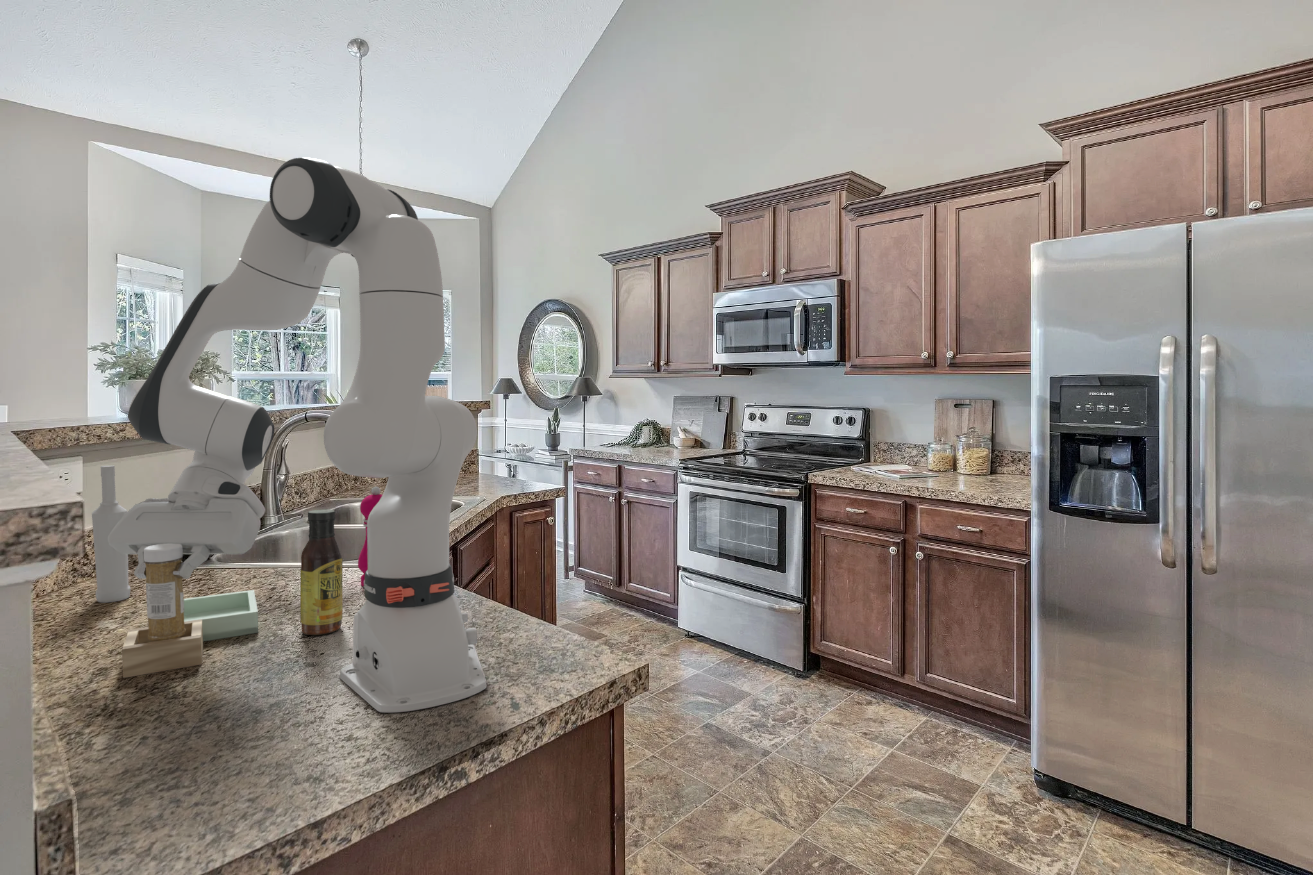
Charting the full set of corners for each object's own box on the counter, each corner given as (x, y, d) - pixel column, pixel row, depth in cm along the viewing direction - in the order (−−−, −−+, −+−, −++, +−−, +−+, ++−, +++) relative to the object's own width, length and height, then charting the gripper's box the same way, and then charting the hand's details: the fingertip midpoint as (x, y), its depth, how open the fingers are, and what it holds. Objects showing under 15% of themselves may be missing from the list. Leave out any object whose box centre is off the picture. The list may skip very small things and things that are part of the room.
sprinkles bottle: (192, 631, 102) (189, 542, 101) (171, 642, 97) (167, 549, 96) (162, 631, 102) (158, 542, 101) (139, 642, 97) (135, 549, 96)
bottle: (137, 594, 131) (132, 464, 129) (117, 602, 125) (111, 467, 124) (109, 594, 130) (104, 464, 129) (88, 602, 125) (81, 467, 123)
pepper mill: (402, 578, 143) (400, 484, 142) (387, 588, 136) (385, 489, 135) (368, 578, 144) (366, 483, 142) (351, 588, 136) (349, 488, 135)
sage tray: (258, 632, 111) (257, 611, 111) (151, 649, 104) (151, 626, 103) (254, 608, 123) (253, 589, 123) (158, 622, 115) (157, 602, 115)
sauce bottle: (325, 638, 109) (323, 515, 107) (291, 635, 110) (288, 513, 109) (352, 625, 115) (349, 508, 114) (319, 622, 117) (316, 507, 115)
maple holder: (201, 664, 98) (201, 637, 98) (123, 677, 93) (121, 649, 93) (203, 644, 106) (202, 619, 106) (130, 655, 101) (129, 629, 101)
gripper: (127, 486, 105) (75, 565, 96) (257, 486, 105) (218, 565, 95) (150, 510, 110) (103, 587, 101) (275, 510, 109) (240, 587, 100)
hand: (160, 576), depth 98 cm, fingers closed on sprinkles bottle, 4 cm apart
